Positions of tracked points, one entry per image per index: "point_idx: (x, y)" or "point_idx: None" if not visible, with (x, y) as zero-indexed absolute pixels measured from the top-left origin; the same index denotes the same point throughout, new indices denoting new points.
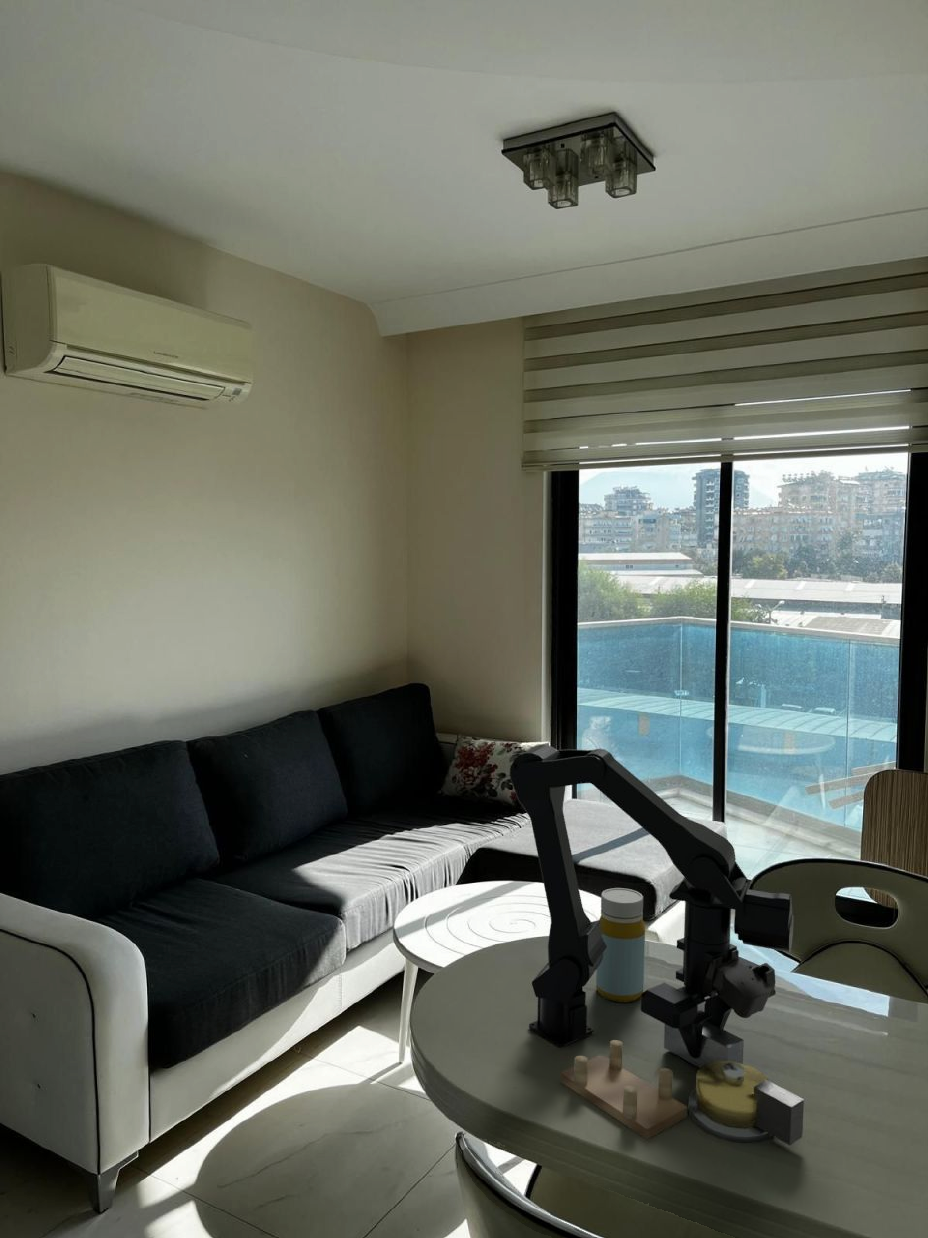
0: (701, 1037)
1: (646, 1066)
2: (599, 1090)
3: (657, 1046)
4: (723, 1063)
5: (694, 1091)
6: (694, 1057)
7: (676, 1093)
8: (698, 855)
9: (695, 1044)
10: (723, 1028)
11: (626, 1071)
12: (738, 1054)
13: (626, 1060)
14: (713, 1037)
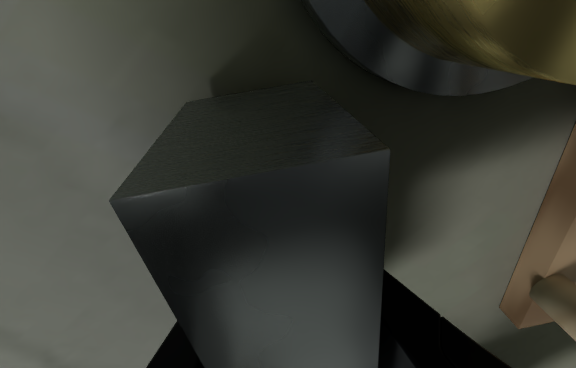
0: (389, 322)
1: (425, 272)
2: None
3: None
4: (562, 6)
5: (522, 76)
6: None
7: (494, 136)
8: None
9: (407, 290)
10: (155, 357)
11: (556, 262)
12: (214, 135)
13: (439, 303)
14: (347, 304)
